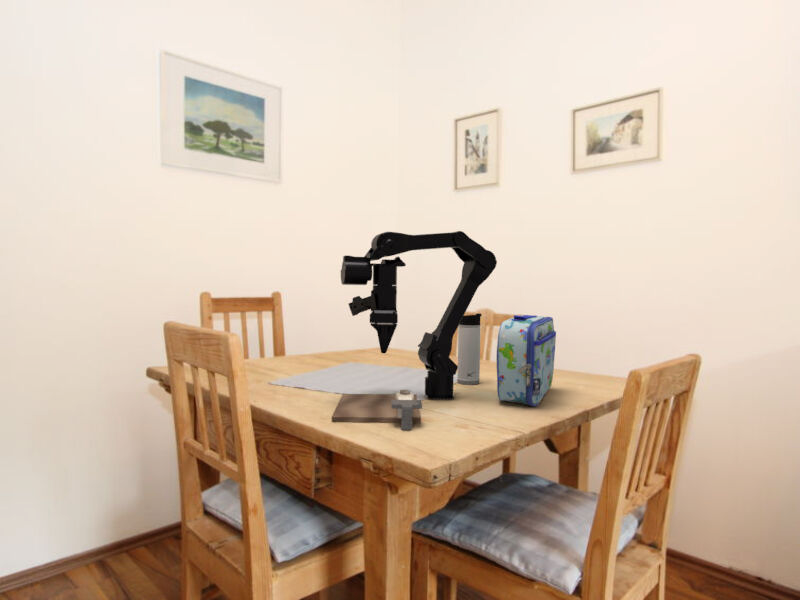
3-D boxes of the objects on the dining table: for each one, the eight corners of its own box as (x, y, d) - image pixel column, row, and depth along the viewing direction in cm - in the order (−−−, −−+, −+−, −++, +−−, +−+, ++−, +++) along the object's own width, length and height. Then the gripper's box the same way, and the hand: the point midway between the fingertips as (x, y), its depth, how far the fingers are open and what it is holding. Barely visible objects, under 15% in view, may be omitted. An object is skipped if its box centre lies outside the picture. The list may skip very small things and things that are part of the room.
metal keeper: (420, 421, 100) (420, 400, 100) (422, 430, 94) (422, 407, 94) (391, 421, 100) (391, 399, 100) (391, 429, 94) (391, 407, 94)
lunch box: (537, 411, 110) (539, 318, 109) (490, 405, 115) (492, 316, 114) (557, 390, 133) (559, 312, 132) (518, 385, 138) (519, 311, 137)
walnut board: (416, 398, 120) (416, 382, 120) (420, 422, 99) (421, 403, 99) (342, 397, 120) (342, 382, 120) (331, 421, 99) (331, 402, 99)
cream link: (396, 400, 113) (396, 391, 113) (413, 400, 113) (413, 391, 113) (394, 417, 98) (394, 408, 98) (414, 418, 98) (415, 408, 98)
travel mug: (473, 386, 136) (475, 314, 135) (453, 383, 140) (454, 312, 139) (484, 382, 141) (485, 313, 140) (464, 379, 145) (465, 312, 144)
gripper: (354, 284, 126) (353, 345, 127) (347, 285, 108) (346, 355, 108) (397, 285, 127) (396, 345, 127) (398, 285, 108) (397, 356, 109)
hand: (383, 350), depth 118 cm, fingers open, 9 cm apart
